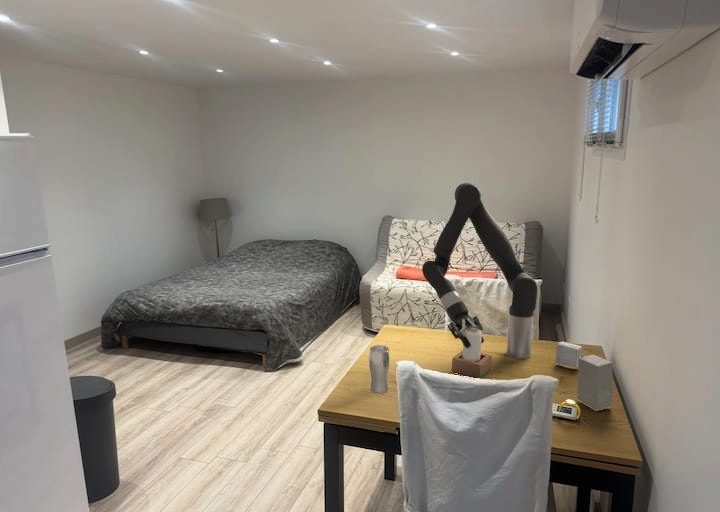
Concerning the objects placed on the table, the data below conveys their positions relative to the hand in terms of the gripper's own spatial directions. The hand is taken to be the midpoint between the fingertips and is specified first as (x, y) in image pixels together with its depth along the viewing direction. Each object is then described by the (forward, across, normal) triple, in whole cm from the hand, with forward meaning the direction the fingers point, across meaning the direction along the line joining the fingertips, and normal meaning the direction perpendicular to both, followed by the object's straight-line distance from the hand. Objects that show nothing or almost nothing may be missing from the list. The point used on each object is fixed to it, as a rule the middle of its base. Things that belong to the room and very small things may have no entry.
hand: (475, 344), depth 183 cm
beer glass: (+2, -37, +15) cm, 40 cm away
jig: (+7, 0, +9) cm, 11 cm away
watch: (+35, 0, -20) cm, 41 cm away
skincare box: (+35, +14, -20) cm, 42 cm away
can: (+3, 0, +6) cm, 7 cm away
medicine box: (+19, +34, -4) cm, 39 cm away
